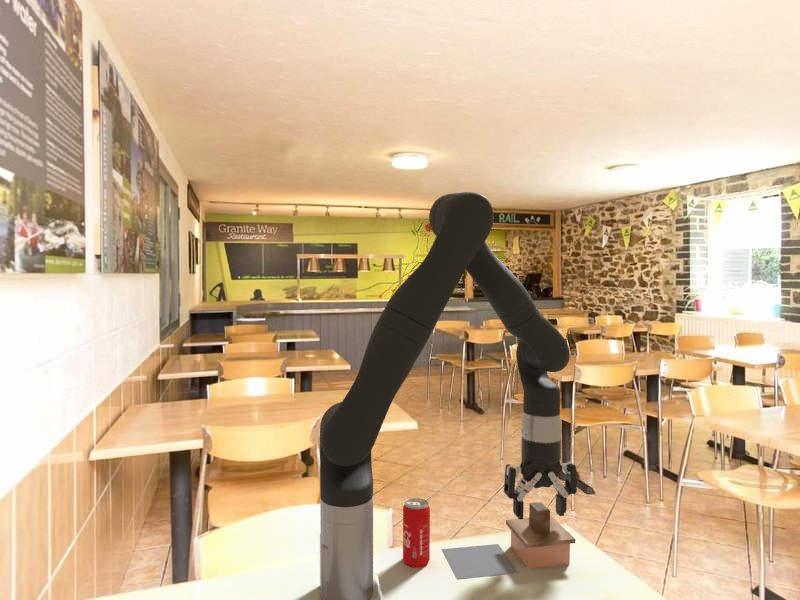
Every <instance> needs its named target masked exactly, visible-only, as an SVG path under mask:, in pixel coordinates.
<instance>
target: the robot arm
mask: <svg viewBox="0 0 800 600" xmlns="http://www.w3.org/2000/svg"><path fill="white" fill-rule="evenodd" d="M494 213H495V212H494V208H493V206H492V203H491V202H490V200H489V198H488V197H486V196H485V195H483V194H481V193H477V192H473V191H472V192H471V191H470V192H469V191H464V192H463V191H462V192H453V193H447V194H444V195H442V196H441V197H438V198H437V199H436V200H435V201H434V202H433V204H432V205H431V207H430V210H429V213H428V214H429V215H428V220H429V221H428V223H429V226H430V228H431V232H432V233H433V234H434V235H435V239H434V241H433V243H432V245H431V247H430V249H429V251H428V253H427V254H426V256H425V257H424V259H423V260H422V262H421V263H420V264H419V265H418V266H417V268H416V269H415V270H414V271H413V272H412V273H410V275H409V276H407V278H406V279H405V280H404V281H403V282H402V283H401V284H400V286H399V287H398V288H397V289H396V290H395V292H393V294H392V295H391V296H390V298H389V300H388V302H387V303H386V306H384V309H383V310H382V313H380V316H379V318H378V320H377V321H376V324H375V326H374V328H373V330H372V333H371V335H370V338H369V340H368V343H367V345H366V349H365V351H364V354H363V358H362V360H361V364H360V366H359V371H358V373H357V375H356V377H355V379H354V381H353V383H352V385H351V387H350V388H349V390H348V392H347V394H346V395H345V397H343V400H342V401H340V402H337V403H335V404H333V405H331V406H330V407H329V408H328V409H327V410H326V411H325V412H324V414H323V416H322V418H321V420H320V424H319V496H320V497H319V500H320V501H319V503H320V504H319V505H320V506H319V507H320V508H319V509H320V518H319V519H320V522H319V523H320V534H319V589H320V600H369V599H370V598H371V597H372V595H373V593H374V477H373V465H372V464H373V463H372V450H373V447H375V444H376V441H377V439H378V436H379V433H380V431H381V429H382V426H383V424H384V421H385V419H386V416H387V414H388V413H389V409H390V407H391V405H392V402H393V401H394V399H395V396H396V395H397V394H398V392H399V390H400V388H401V387H402V385H403V384H404V382H405V380H406V379H407V377H408V376H409V374H410V372H411V371H412V369H413V367H414V365H415V363H416V362H417V360H418V358H419V357H420V354H422V352H423V350H424V348H425V346H426V344H427V343H428V341H429V339H430V337H431V335H432V333H433V331H434V329H435V328H436V326H437V323H438V322H439V319H440V317H441V315H442V314H443V311H444V310H445V308H446V306H447V304H448V303H449V300H450V298H451V297H452V295H453V293H454V291H455V289H456V287H457V285H458V283H459V282H460V280H461V278H462V276H463V274H464V273H465V272H467V273H468V274H469V276H470V277H471V278H472V280H473V281H474V283H475V284H476V285H477V287H478V288H479V289H480V291H481V293H483V295H484V297H485V298H486V300H487V301H488V303H489V304H490V306H491V308H492V309H493V311H494V312H495V314H496V315H497V317H498V318H499V320H500V321H501V323H502V325H503V326H504V328H505V329H506V330H507V332H508V333H509V334H510V335H512V336H514V337H516V338H518V339H519V341H518V343H517V346H516V350H515V351H516V352H515V353H516V355H515V356H516V358H515V359H516V365H517V369H518V374H519V378H520V381H521V385H522V390H523V398H522V399H523V404H522V406H523V407H522V409H523V411H522V419H521V429H520V433H521V450H520V451H521V452H520V453H521V458H520V459H521V461H520V465H513V466H512V464H510V463H507V464H506V465H505V469H504V484H503V493H504V494H505V495H506V496H507V497H508V498H509V499H510V500H513V502H512V511H513V512H512V513H513V514H514V516H515V517H516V519H523V518H524V506H525V505H524V503H525V502H524V498H525V497H526V496H527V495H528V494H530V493H531V491H532V490H533V488H534V489H540V488H551V486H552V487H553V488H554V489H555V491H556V492H557V494H555V513H556V514H557V515H558V516H559V517H564V516H565V513H566V512H567V505H568V504H567V503H568V499H567V498H568V497H569V496H570V495H576V494H577V493H578V492H577V491H578V490H577V489H578V488H577V468H576V467H577V466H576V465H575V464H574V463H573V462H571V461H570V460H565V461H564V462H563V463H561V460H562V459H561V458H562V457H561V455H562V421H561V420H562V419H561V388H560V386H559V385H558V384H557V383H555V382H553V381H552V380H551V379H550V377H549V373H556V372H561V371H562V370H564V369H565V368H566V367H567V365H568V364H569V362H570V356H571V354H570V348H569V344H568V342H567V341H566V339H565V336H564V335H563V334H562V333H561V332H560V331H559V330H558V328H556V327H555V326H554V325H553V324H552V322H551V321H549V320H548V319H547V318H546V317H545V315H543V314H542V313H541V312H540V310H539V309H538V307H537V306H536V303H535V302H534V301H533V298H532V297H531V294H529V292H528V290H527V288H526V287H525V286H524V285H523V283H522V282H521V281H520V280H519V278H517V277H516V275H515V274H513V272H512V271H511V270H510V269H509V268H508V267H507V266H506V265H505V264H504V263H503V262H502V261H501V260H500V259H499V257H497V255H496V254H495V252H494V251H493V250H492V249H491V248H490V246H489V244H487V239H488V238H489V235H490V233H491V231H492V228H493V226H494V219H495V218H494V217H495V214H494ZM562 472H563V473H564V486H563V484H562V483H561V481H560V480H559V476H560V474H561V473H562ZM519 474H521V475H522V476H521V477H520V478H519V480H518V481H517V485H516V479H517V478H518V477H519Z"/></svg>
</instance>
